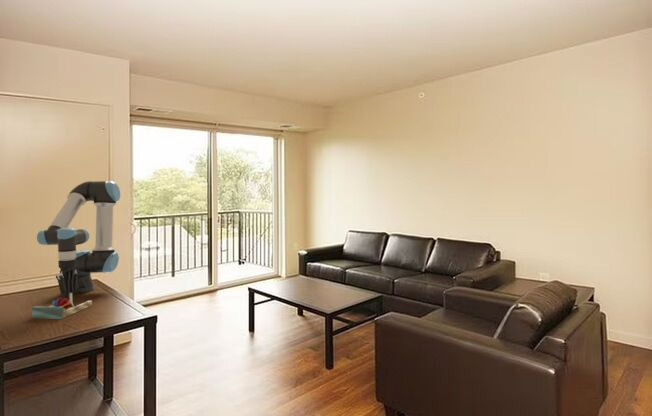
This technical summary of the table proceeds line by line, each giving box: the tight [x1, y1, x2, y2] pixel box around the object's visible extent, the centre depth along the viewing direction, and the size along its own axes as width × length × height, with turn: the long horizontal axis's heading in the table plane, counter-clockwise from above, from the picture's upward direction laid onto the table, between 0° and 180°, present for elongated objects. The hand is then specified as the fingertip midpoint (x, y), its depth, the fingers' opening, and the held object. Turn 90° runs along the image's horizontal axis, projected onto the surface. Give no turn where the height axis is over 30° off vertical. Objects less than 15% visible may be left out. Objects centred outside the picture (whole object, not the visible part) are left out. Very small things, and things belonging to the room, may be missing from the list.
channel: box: [31, 300, 93, 320], centre depth 189 cm, size 21×14×5 cm
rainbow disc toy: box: [50, 297, 75, 311], centre depth 187 cm, size 8×10×7 cm
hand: (69, 305), depth 192 cm, fingers closed
